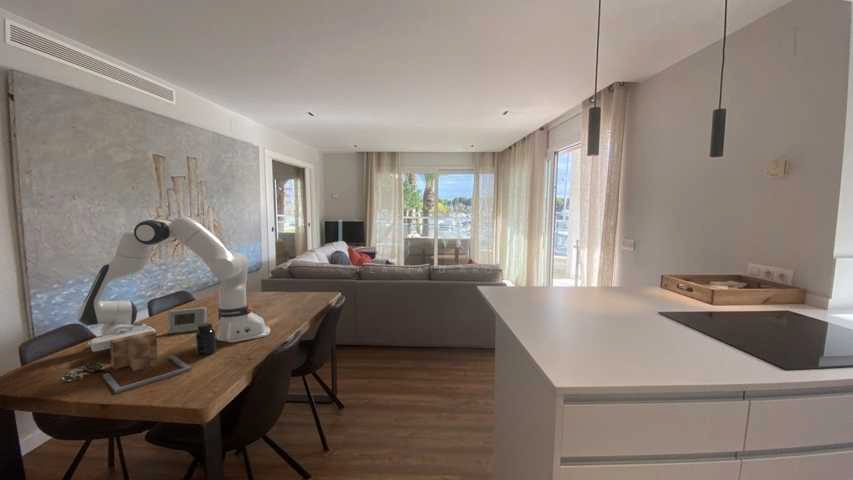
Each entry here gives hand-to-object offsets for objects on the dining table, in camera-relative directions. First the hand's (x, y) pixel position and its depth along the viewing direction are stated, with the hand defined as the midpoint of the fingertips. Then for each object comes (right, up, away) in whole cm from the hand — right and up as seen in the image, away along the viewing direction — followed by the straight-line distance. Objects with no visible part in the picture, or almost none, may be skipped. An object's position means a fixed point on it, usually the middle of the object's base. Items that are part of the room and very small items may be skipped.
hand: (129, 343), depth 139 cm
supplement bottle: (+28, -5, +4) cm, 29 cm away
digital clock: (+2, -4, +32) cm, 32 cm away
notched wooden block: (+9, -6, -6) cm, 13 cm away
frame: (+19, -7, -14) cm, 24 cm away
